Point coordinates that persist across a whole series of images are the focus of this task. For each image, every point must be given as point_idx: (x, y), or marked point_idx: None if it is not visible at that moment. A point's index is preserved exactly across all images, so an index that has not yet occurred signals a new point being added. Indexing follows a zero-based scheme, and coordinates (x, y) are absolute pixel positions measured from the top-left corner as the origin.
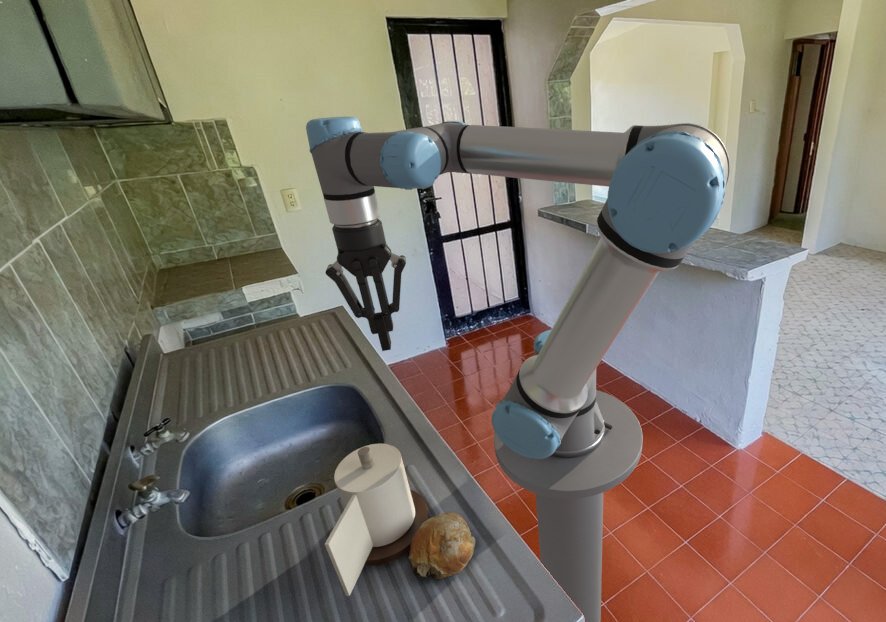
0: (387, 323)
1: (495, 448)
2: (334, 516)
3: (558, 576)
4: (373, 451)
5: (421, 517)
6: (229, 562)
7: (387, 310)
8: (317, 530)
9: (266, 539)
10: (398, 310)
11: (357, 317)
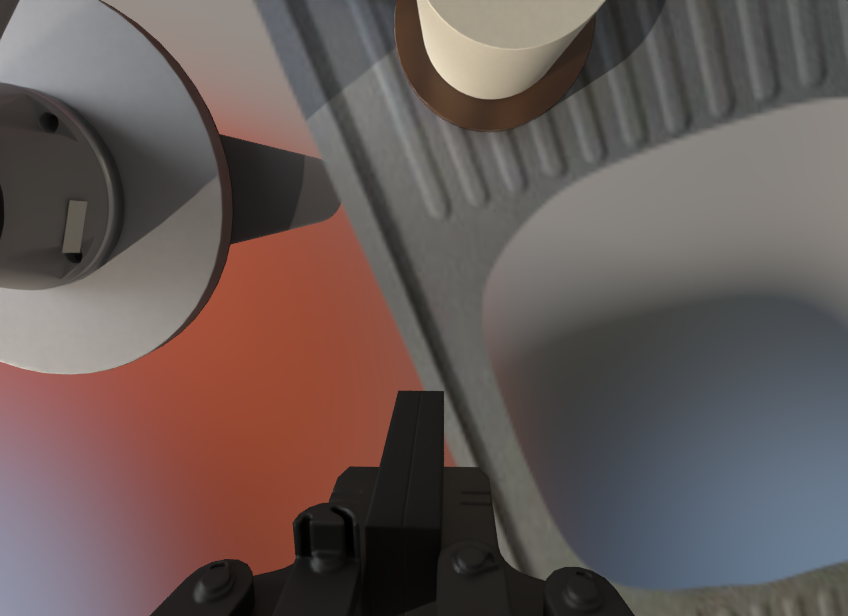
0: (359, 508)
1: (219, 185)
2: (613, 102)
3: (265, 150)
4: (505, 6)
5: (408, 7)
6: (837, 34)
7: (294, 585)
8: (649, 70)
9: (762, 79)
10: (202, 569)
11: (589, 572)
